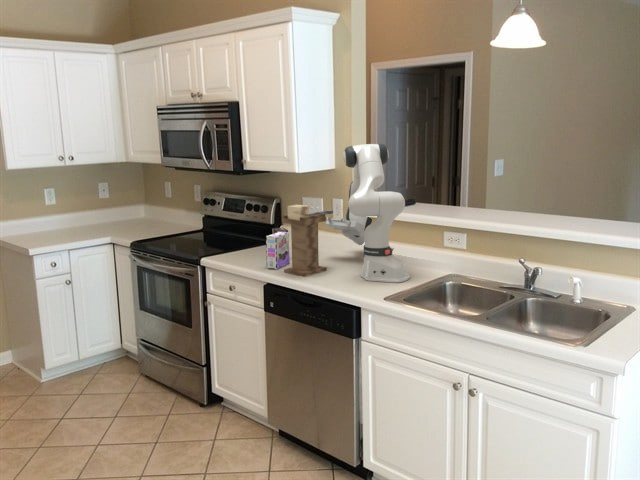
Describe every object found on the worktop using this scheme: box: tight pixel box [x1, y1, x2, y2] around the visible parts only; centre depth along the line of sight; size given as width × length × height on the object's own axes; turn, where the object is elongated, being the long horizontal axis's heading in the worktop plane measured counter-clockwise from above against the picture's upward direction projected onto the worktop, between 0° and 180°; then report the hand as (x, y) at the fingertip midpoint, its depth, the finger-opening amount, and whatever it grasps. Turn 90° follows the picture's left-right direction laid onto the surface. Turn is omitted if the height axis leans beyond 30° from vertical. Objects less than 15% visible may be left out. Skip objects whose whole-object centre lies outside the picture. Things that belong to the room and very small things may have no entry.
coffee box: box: [271, 227, 289, 234], centre depth 309 cm, size 9×6×16 cm
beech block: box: [287, 204, 334, 220], centre depth 282 cm, size 26×8×6 cm, turn 137°
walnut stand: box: [282, 214, 328, 278], centre depth 281 cm, size 16×13×28 cm
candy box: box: [265, 231, 291, 270], centre depth 293 cm, size 14×6×16 cm, turn 155°
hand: (335, 218), depth 295 cm, fingers open, 8 cm apart
